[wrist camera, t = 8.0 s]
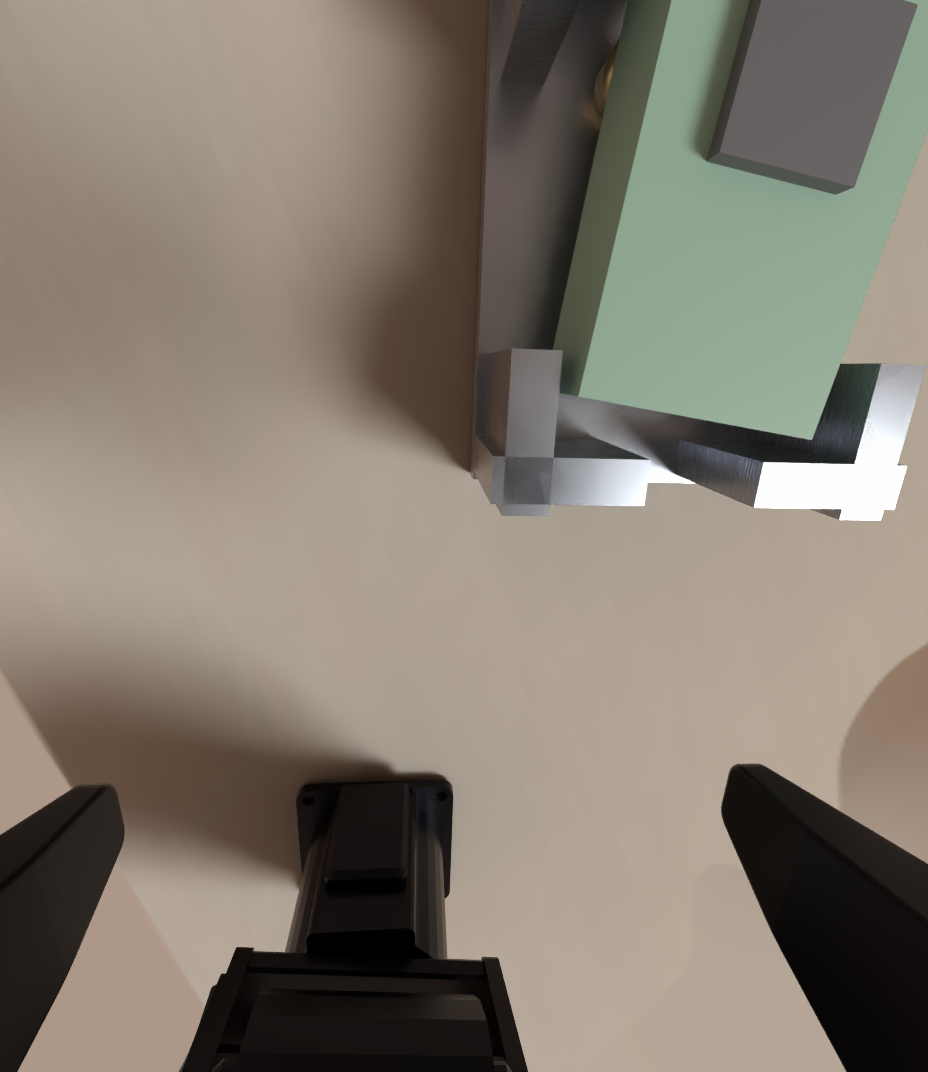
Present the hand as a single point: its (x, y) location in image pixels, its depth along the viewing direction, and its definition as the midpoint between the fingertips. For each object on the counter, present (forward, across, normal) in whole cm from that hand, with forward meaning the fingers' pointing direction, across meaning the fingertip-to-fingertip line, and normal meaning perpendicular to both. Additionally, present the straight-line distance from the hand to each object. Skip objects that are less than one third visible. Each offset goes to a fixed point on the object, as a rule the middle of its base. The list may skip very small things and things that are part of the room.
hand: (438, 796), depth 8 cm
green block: (+10, -7, -10) cm, 15 cm away
